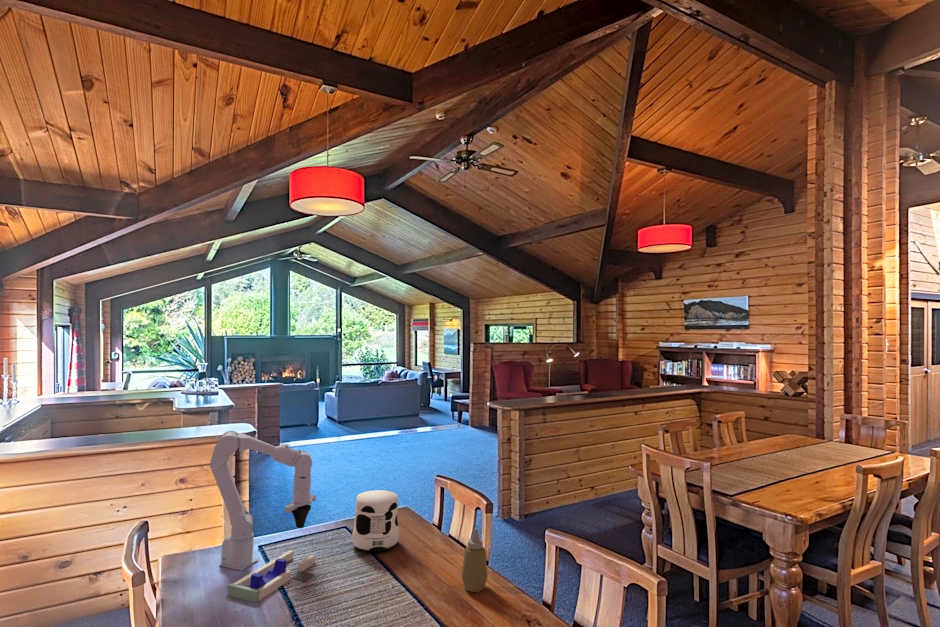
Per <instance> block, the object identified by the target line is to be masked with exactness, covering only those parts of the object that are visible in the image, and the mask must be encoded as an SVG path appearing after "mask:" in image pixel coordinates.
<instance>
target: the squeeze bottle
mask: <svg viewBox="0 0 940 627" xmlns="http://www.w3.org/2000/svg"><path fill="white" fill-rule="evenodd" d="M472 531H473V532H472V535H471V538H470V539H468V540H467V546H466V547H465V548H464V555H463V561H462V570H461V579H462V582H463V583H462V584H463V585H464V586H463V587H464V589H465V591H466V592H469V591H471V592H470V593H473V592H476V593H479V592H478V591H481V590H482V589H483V590H484V588H485V586H486V583H487V579H488V567H487V552H486V548H485V547H484V546H483V545H484V541H483V540H482V539H481V538H480V535H479V531H478V528H473V530H472ZM483 590H482V591H483ZM482 591H481V592H482Z"/></svg>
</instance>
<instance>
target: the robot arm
mask: <svg viewBox="0 0 940 627" xmlns="http://www.w3.org/2000/svg"><path fill="white" fill-rule="evenodd" d="M289 446H290V445H289V444H279V445H277V446H275V445H272V444H270V443H267V442H265V441H263V440H260V439H258V438H255V437H253V436H251V435H247V434H245V433H243V432H242V433H241V432H239V433H238V432H236V431H235V430H228V431H225V432H224V433H222V435H221V436H220V438H218V440H217V443H216V444H215V446H213V447H214V448H213V451H212V454H211V455H212V456H211V457H210V458H211V459H210V462H209V467H210V470H211V472H212V475H213V477H214V480H215V483H216V484H217V487H218V491H219V492H220V494H221V497H222V500H223V502H224V505H225V507H226V510H227V512H228V517H229V523H230V525H231V529H230V534H228V535H227V536H226V537H225V538H224V539H223V541H222V544H221V553H220V554H221V557H220V563H219V564H218V566H220V567H224V568H228V569H232V570H238V571H243V570H244V569H246V568H248V567H249V566H251V565H253V564H255V563H256V562H258V561H259V559H258V558H255V557H253V556H254V555H253V553H254V536H255V534H254V531H253V523H254V517H253V515H252V513H250V512H249V511H248V510H247V507H246V506H245V504H244V503H243V500H242V498H241V495H240V492H239V490H238V488H237V484H236V483H235V480H234V477H233V476H232V473H231V470H230V468H229V465H228V461H229V460H230V458H231V456H232V455H234V454H235V453H236V451H237V450H238V449H239V451H238V452H243V451H246V450H251V451H255V452H258V453H262V454H263V455H264V454H265V455H268V456H270V457H271V458H272V459H273V461H274V462H277V463H279V464H282V465H285V466H288V467H291V468H292V467H294V474H293V487H292V489H293V490H292V500H291V501H290V502H289V503H288V504H287V505H286V506H285V505H284V513H287V514H290V513H291V514H292V516H293V519H294V522H295V527H296V528H297V529H302V528H304V527H305V523H306V520H307V517H308V514H309V512H310V511H311V509H312V505H311V504H313V502H315V501H317V494H314V493H313V494H311V483H312V482H311V480H312V474H311V471H312V469H311V468H312V466H313V461H312V458H311V455H310V454H309V452H307V451H305V450H302V449H294V448H292V447H289Z"/></svg>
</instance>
